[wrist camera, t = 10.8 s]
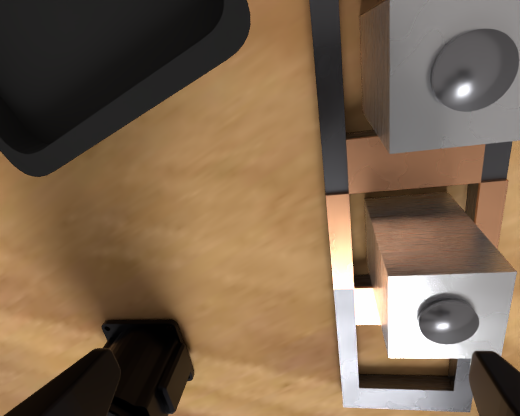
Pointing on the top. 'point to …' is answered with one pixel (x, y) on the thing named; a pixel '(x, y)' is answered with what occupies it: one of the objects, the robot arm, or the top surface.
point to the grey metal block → (441, 72)
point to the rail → (384, 179)
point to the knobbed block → (435, 278)
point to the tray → (100, 67)
